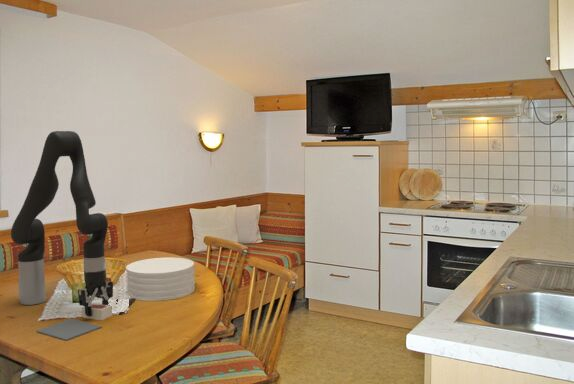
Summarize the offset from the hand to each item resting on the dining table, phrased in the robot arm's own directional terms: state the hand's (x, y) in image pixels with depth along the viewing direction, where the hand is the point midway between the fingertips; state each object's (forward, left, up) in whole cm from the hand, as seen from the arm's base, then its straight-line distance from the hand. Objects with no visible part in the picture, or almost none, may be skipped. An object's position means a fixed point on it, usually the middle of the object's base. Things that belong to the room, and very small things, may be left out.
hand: (97, 313), depth 197 cm
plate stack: (-3, +36, -2) cm, 36 cm away
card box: (0, 0, -2) cm, 2 cm away
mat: (+3, -14, -1) cm, 14 cm away
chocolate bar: (-2, +11, -2) cm, 11 cm away
